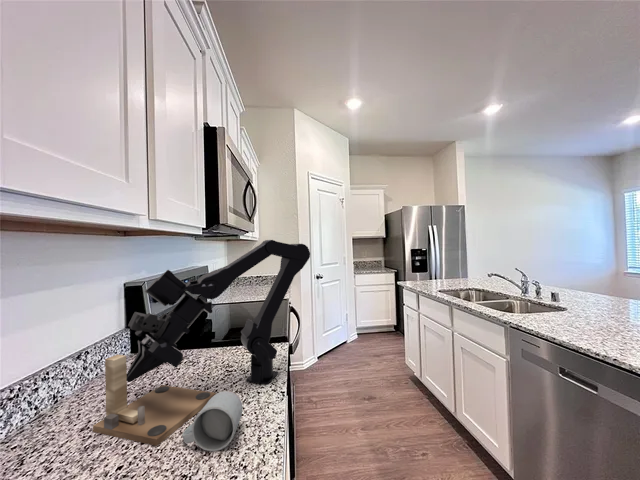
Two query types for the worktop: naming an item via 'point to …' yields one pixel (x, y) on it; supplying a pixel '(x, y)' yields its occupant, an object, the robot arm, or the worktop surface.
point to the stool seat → (156, 414)
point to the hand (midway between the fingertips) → (127, 380)
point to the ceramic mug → (215, 422)
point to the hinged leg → (118, 389)
